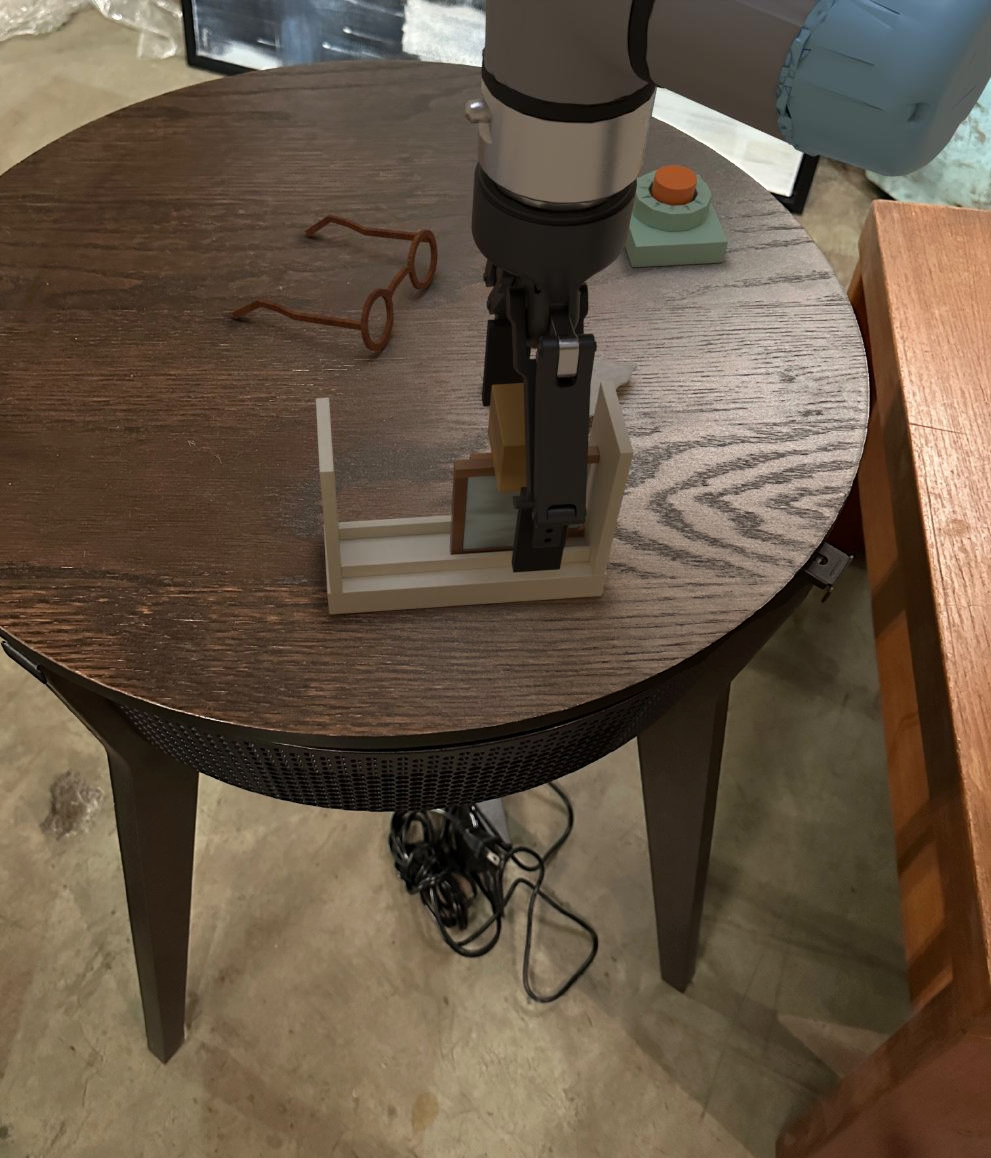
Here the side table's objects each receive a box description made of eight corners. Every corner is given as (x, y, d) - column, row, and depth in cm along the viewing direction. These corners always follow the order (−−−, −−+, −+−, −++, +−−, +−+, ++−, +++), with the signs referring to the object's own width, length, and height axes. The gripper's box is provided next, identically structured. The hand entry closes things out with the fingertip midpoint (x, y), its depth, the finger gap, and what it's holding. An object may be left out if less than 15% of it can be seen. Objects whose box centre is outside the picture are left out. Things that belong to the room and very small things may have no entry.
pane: (557, 518, 75) (581, 378, 65) (569, 577, 72) (597, 440, 62) (445, 525, 74) (452, 386, 64) (454, 584, 72) (462, 448, 61)
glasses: (372, 365, 88) (370, 316, 84) (231, 318, 91) (223, 268, 87) (440, 271, 95) (442, 222, 91) (307, 231, 98) (303, 181, 94)
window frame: (585, 527, 78) (616, 379, 67) (602, 596, 74) (637, 452, 63) (325, 544, 77) (312, 397, 66) (329, 614, 73) (316, 472, 62)
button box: (694, 195, 102) (704, 155, 99) (722, 262, 96) (733, 223, 93) (609, 199, 101) (615, 160, 98) (631, 267, 95) (639, 228, 92)
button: (687, 181, 97) (691, 163, 95) (697, 206, 95) (701, 188, 93) (647, 183, 97) (650, 165, 95) (656, 208, 95) (660, 190, 93)
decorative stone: (475, 390, 88) (473, 364, 85) (610, 338, 89) (612, 311, 86) (519, 464, 83) (519, 439, 81) (661, 409, 84) (664, 382, 82)
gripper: (446, 33, 58) (436, 346, 75) (514, 353, 43) (483, 653, 60) (587, 27, 58) (546, 339, 75) (704, 342, 43) (619, 643, 60)
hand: (518, 479), depth 68 cm, fingers open, 13 cm apart
